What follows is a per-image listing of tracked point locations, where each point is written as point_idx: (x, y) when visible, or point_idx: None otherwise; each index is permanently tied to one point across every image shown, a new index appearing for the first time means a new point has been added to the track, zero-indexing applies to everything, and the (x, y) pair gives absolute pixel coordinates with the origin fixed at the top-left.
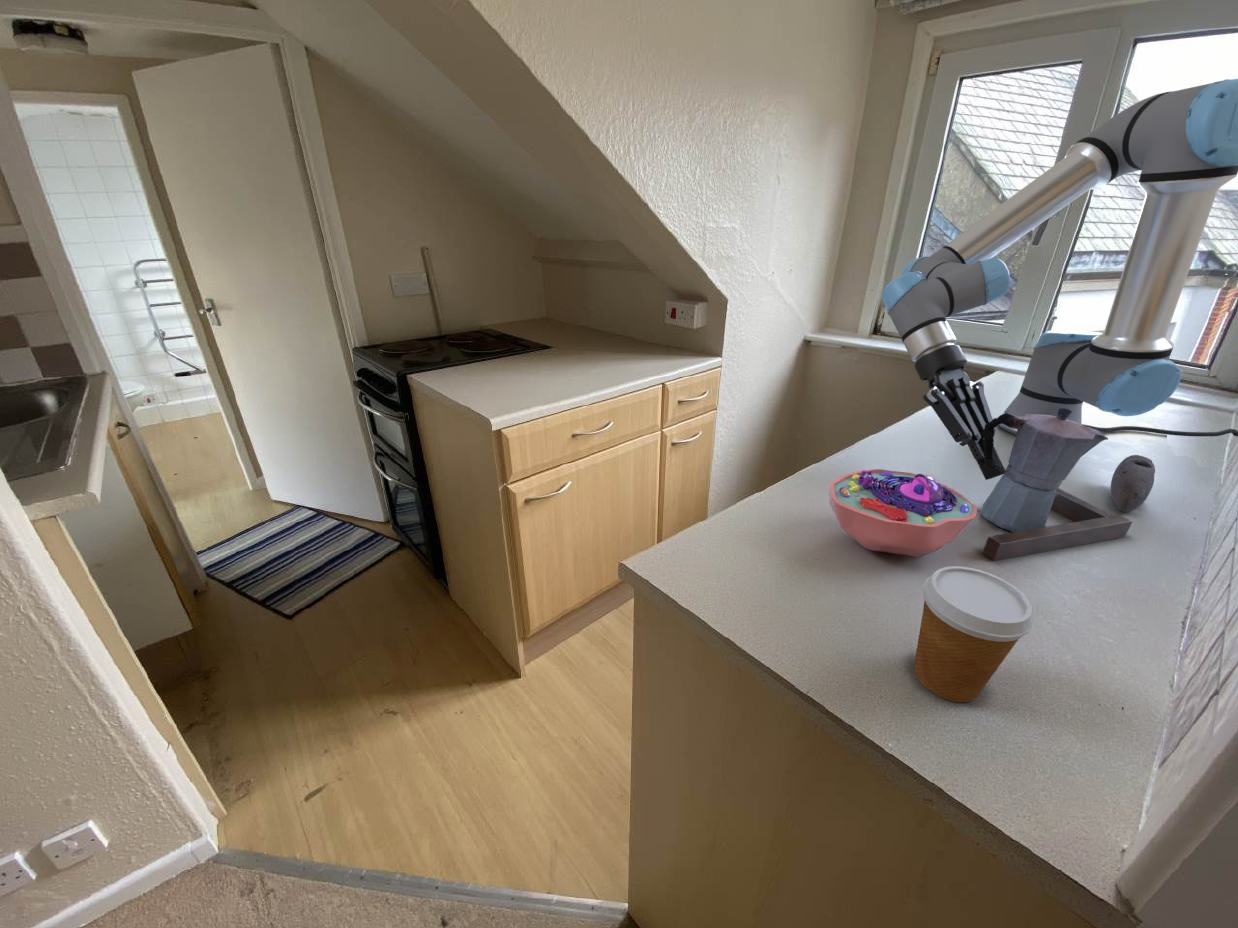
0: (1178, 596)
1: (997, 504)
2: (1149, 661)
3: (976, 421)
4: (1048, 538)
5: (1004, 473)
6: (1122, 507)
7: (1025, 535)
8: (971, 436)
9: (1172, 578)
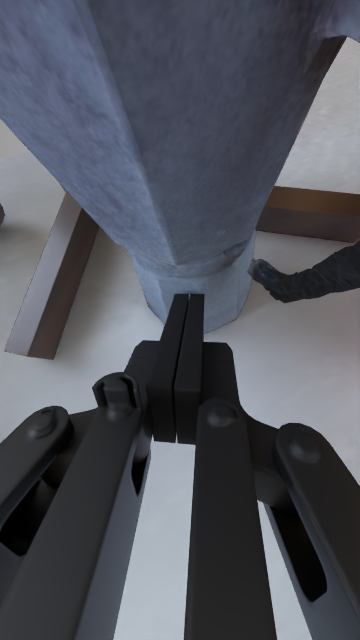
0: None
1: (249, 277)
2: (354, 62)
3: (110, 550)
4: None
5: (204, 282)
6: (2, 213)
7: (299, 197)
8: (286, 426)
9: None
